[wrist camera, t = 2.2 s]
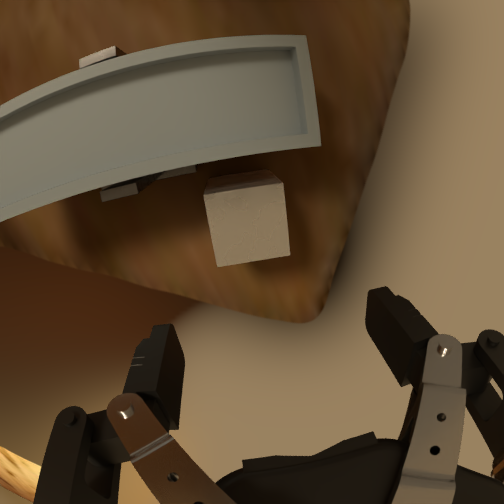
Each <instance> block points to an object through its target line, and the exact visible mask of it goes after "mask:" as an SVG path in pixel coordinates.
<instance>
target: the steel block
mask: <svg viewBox="0 0 504 504" xmlns="http://www.w3.org/2000/svg"><path fill="white" fill-rule="evenodd" d="M203 196H204V201H205V207H206V212H207V217H208V222H209V228H210V233H211V238H212V243H213V248H214V253H215V258H216V263H217V267H221V266H227V265H234V264H240V263H246V262H252V261H258V260H265V259H271V258H277V257H283V256H289V255H290V246H289V235H288V224H287V214H286V204H285V195H284V186H283V182H282V181H281V180H279V179H278V178H277V177H276V176H275V175H274V174H273V173H272V172H271V171H270V170H268V169H264V170H257V171H250V172H243V173H237V174H230V175H224V176H218V177H212V178H209V179H208V182H207V185H206V188H205V191H204V195H203Z"/></svg>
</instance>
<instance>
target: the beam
mask: <svg viewBox="0 0 504 504" xmlns="http://www.w3.org/2000/svg"><path fill="white" fill-rule="evenodd" d="M315 146H321V138H320V128H319V120H318V111H317V103H316V96H315V88H314V81H313V75H312V68H311V62H310V56H309V50H308V44H307V39H306V35H251V36H234V37H222V38H213V39H204V40H197V41H190V42H183V43H177V44H172V45H166V46H161V47H156V48H152V49H147V50H143V51H139V52H135V53H131V54H127V55H123V56H120V57H116V58H113V59H109V60H106V61H103V62H100V63H97V64H94V65H91V66H88V67H85V68H82V69H79V70H77V71H74V72H71V73H69V74H66V75H64V76H61V77H59V78H56V79H54V80H51V81H49V82H47V83H45V84H42V85H40V86H38V87H36V88H34V89H32V90H30V91H27V92H25V93H23V94H21V95H20V96H18V97H16V98H14V99H12V100H10V101H8V102H6V103H5V104H3V105H1V106H0V222H1V221H4V220H6V219H9V218H11V217H14V216H17V215H19V214H22V213H24V212H27V211H30V210H32V209H35V208H38V207H41V206H44V205H46V204H49V203H52V202H55V201H58V200H61V199H64V198H67V197H70V196H74V195H77V194H80V193H83V192H87V191H90V190H93V189H97V188H100V187H104V186H107V185H111V184H114V183H118V182H122V181H125V180H129V179H133V178H137V177H141V176H145V175H149V174H153V173H158V172H162V171H166V170H171V169H176V168H180V167H185V166H190V165H195V164H200V163H205V162H210V161H216V160H221V159H227V158H233V157H239V156H245V155H252V154H258V153H265V152H272V151H280V150H288V149H297V148H306V147H315Z"/></svg>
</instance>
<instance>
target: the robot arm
mask: <svg viewBox="0 0 504 504" xmlns="http://www.w3.org/2000/svg"><path fill="white" fill-rule="evenodd" d="M365 324H366V329H367V332H368V334H369V335H370V337H371V338H372V340H373V342H374V343H375V345H376V347H377V348H378V350H379V352H380V353H381V354H382V356H383V358H384V360H385V361H386V363H387V364H388V366H389V368H390V369H391V371H392V373H393V374H394V376H395V378H396V379H397V381H398V383H399V384H400V386H401V387H403V386H405V385H408V384H412V386H413V389H412V392H411V396H410V400H409V405H408V408H407V412H406V416H405V419H404V423H403V427H402V430H401V432H400V435H399V437H398V440H395V439H386V438H385V439H376V437H375V434H374V432H369V433H366V434H363V435H360V436H357V437H354V438H350V439H347V440H343V441H342V442H340V443H337V444H336V445H334V446H332V447H330V448H328V449H326V450H324V451H322V452H319V453H317V454H315V455H312V456H277V455H275V456H269V457H263V458H255V459H247V460H242V462H243V468H241V469H238V470H236V471H234V472H231V473H229V474H228V475H226V476H224V477H223V478H221V479H220V480H219V481H217V482H216V483H214V482H213V481H212V480H211V479H210V478H209V477H208V476H207V475H206V474H205V473H204V471H203V470H202V469H201V468H200V467H199V466H198V465H197V464H196V463H195V462H194V461H193V460H192V459H191V458H190V456H189V455H188V454H187V453H186V452H185V451H184V450H183V448H181V446H180V445H179V444H178V443H177V442H176V440H175V439H174V438H173V437H172V436H171V435H169V430H178V429H179V418H180V408H181V397H182V388H183V378H184V369H185V359H184V354H183V350H182V348H181V345H180V342H179V339H178V337H177V334H176V331H175V328H174V326H173V324H163V325H154V326H153V328H152V332H151V336H150V338H147V339H143V340H142V341H141V343H140V344H139V345H138V346H137V347H136V350H135V353H134V356H133V358H134V359H133V360H132V363H131V367H130V369H129V373H128V376H127V379H126V383H125V386H124V390H123V393H122V394H121V395H118V396H116V397H115V398H114V399H112V401H111V402H110V403H109V405H108V407H107V409H106V410H103V411H99V412H95V413H91V414H86V412H85V411H84V410H83V409H82V408H80V407H77V406H71V407H68V408H65V409H64V410H62V411H61V412H60V413H59V414H58V416H57V417H56V420H55V423H54V426H53V429H52V432H51V435H50V439H49V442H48V445H47V449H46V452H45V456H44V460H43V463H42V467H41V471H40V475H39V479H38V484H37V488H36V493H35V498H34V503H33V504H118V491H119V480H120V470H121V463H123V462H127V461H131V463H132V464H133V466H134V468H135V469H136V471H137V472H138V473H139V475H140V476H141V478H142V479H143V481H144V482H145V484H146V485H147V486H148V488H149V489H150V490H151V492H152V493H153V495H154V496H155V497H156V499H157V500H158V501H159V503H160V504H504V336H503V334H501V333H500V332H498V331H495V330H484V331H482V332H481V333H480V334H479V336H478V339H477V341H476V342H471V343H460V342H459V341H458V340H457V339H456V338H454V337H453V336H450V335H446V334H438V332H437V331H436V330H435V329H434V328H433V327H432V326H431V325H430V323H429V322H428V321H427V320H426V319H425V318H424V317H423V316H422V315H421V314H420V312H419V311H418V310H417V309H415V307H414V306H413V305H412V303H411V302H410V301H409V300H407V299H405V298H403V297H401V296H399V295H397V296H395V295H394V294H393V293H392V292H391V291H390V289H389V288H388V287H386V286H385V287H381V288H376V289H372V290H369V292H368V297H367V308H366V318H365ZM492 378H493V379H494V381H495V382H496V383H497V385H498V386H499V388H500V389H501V391H502V393H503V400H502V399H501V398H500V397H499V395H498V393H497V392H496V391H495V389H494V388H493V386H492V385H491V383H490V380H491V379H492ZM465 406H466V408H467V409H468V411H469V413H470V415H471V416H472V418H473V420H474V422H475V423H476V425H477V427H478V429H479V431H480V432H481V434H482V436H483V438H484V440H485V442H486V443H487V445H488V447H489V449H490V451H491V453H492V455H493V457H494V460H493V464H492V468H493V470H492V471H491V477H489V476H486V475H483V474H480V473H478V472H475V471H472V470H470V469H467V468H464V467H462V466H459V465H457V462H458V458H459V452H460V445H461V440H462V432H463V425H464V415H465Z"/></svg>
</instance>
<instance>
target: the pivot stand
mask: <svg viewBox="0 0 504 504" xmlns="http://www.w3.org/2000/svg"><path fill="white" fill-rule="evenodd" d="M123 55H127V54H126V53H124V52H123V51H122V50H120V49H119V48H117V47H116V46H113V47H110V48H107V49H105V50H102V51H99V52H97V53H94V54H91V55H89V56H86V57H84V58H82V59H79V66H80V69H82V68H85V67H88V66H91V65H94V64H97V63H100V62H103V61H106V60H109V59H113V58H116V57H120V56H123ZM196 171H197V167H196V164H195V165H190V166H185V167H180V168H176V169H171V170H166V171H162V172H158V173H153V174H149V175H145V176H141V177H137V178H133V179H129V180H125V181H122V182H118V183H114V184H111V185H107V186H104V187H102V191H100V195H101V199H102V202H104V201H108V200H113V199H117V198H121V197H125V196H129V195H134V194H138V193H139V192H141V191H142V190H143V189H144V188H146V187H147V186H148V185H149V184H151V183H152V182H153V181H155V180H159V179H163V178H168V177H173V176H178V175H183V174H188V173H193V172H196Z"/></svg>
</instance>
